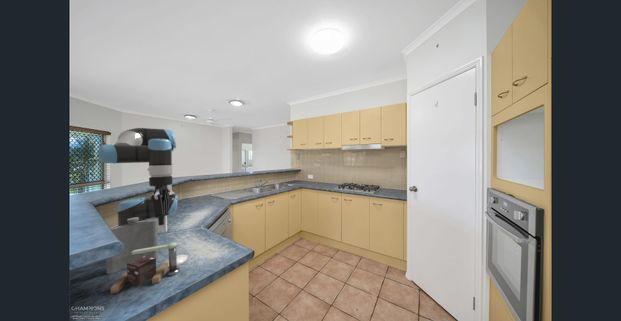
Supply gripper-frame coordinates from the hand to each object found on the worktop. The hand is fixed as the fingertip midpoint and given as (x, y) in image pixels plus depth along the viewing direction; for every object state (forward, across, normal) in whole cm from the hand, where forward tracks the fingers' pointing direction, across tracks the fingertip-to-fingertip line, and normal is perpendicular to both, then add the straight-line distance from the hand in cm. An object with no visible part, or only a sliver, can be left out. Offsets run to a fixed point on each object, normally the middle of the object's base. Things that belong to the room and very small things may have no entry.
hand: (162, 231), depth 75 cm
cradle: (+15, +6, -5) cm, 17 cm away
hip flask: (+15, -8, -13) cm, 21 cm away
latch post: (+15, +6, +5) cm, 17 cm away
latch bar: (+5, +7, 0) cm, 8 cm away
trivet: (+15, -2, +3) cm, 15 cm away
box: (+15, +6, -5) cm, 17 cm away
